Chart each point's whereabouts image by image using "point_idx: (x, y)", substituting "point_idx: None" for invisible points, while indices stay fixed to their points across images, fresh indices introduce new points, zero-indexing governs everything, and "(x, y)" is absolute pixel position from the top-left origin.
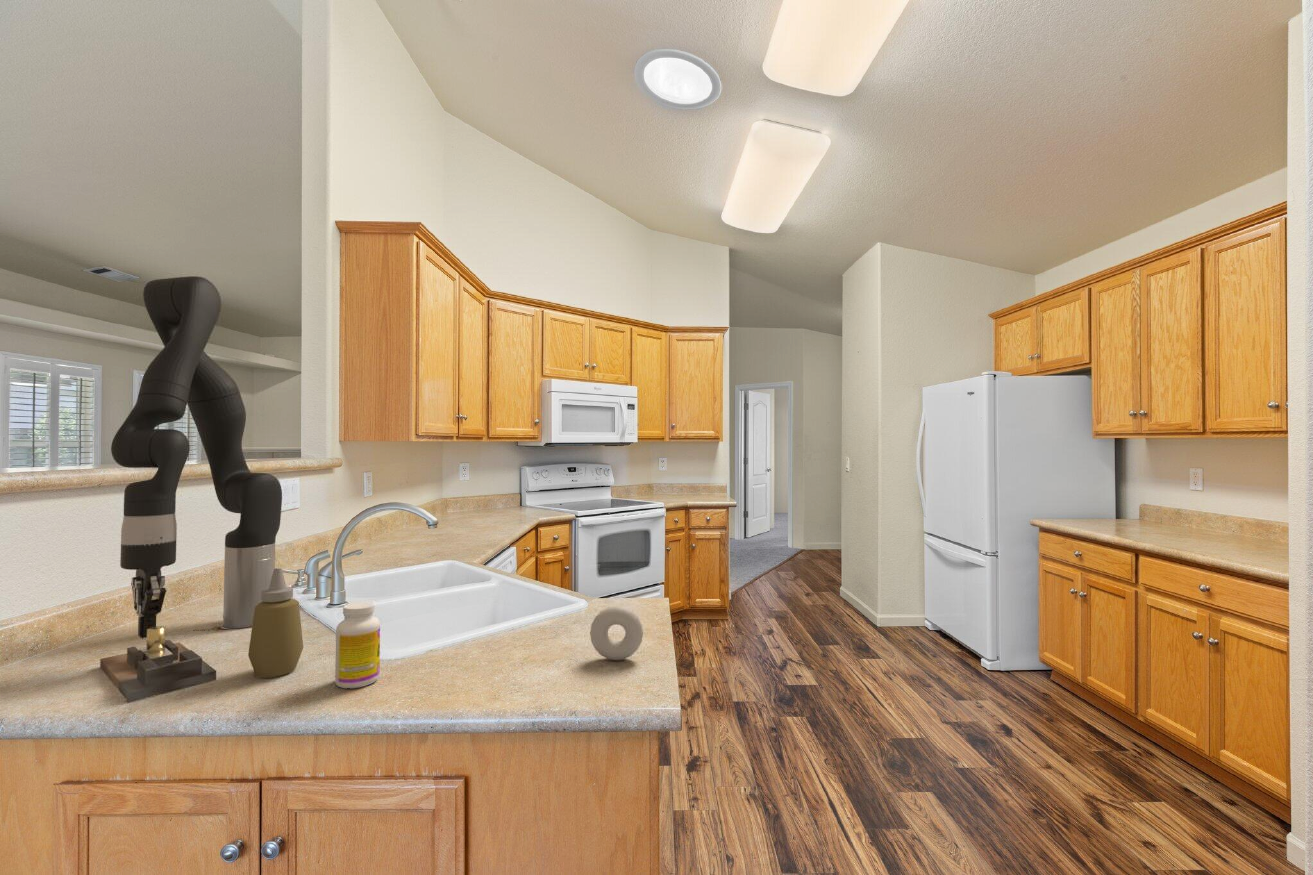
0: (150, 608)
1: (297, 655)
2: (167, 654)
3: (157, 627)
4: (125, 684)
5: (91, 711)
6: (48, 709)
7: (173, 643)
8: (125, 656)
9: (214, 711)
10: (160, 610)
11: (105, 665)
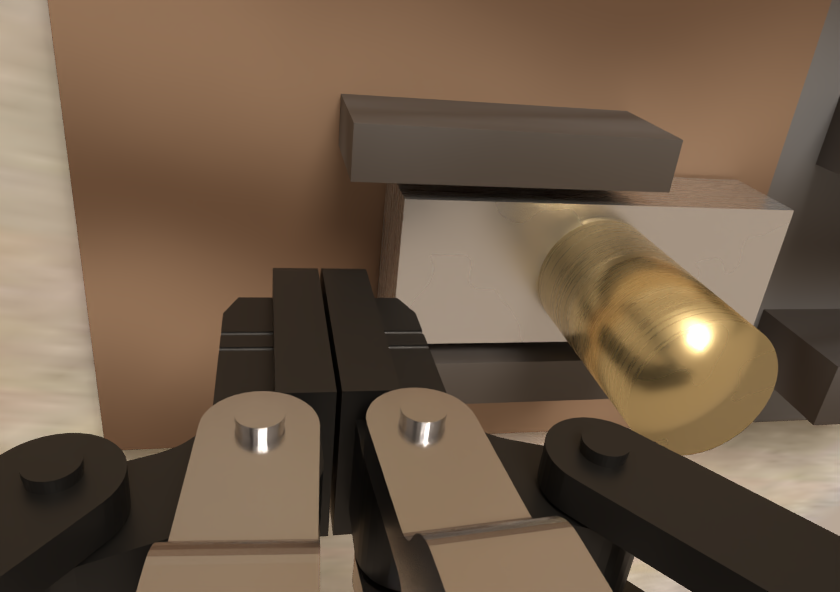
0: (617, 580)
1: None
2: (761, 239)
3: (695, 381)
4: (780, 412)
5: (809, 485)
6: (629, 580)
7: (536, 134)
8: (185, 336)
9: None
10: (663, 452)
11: None
